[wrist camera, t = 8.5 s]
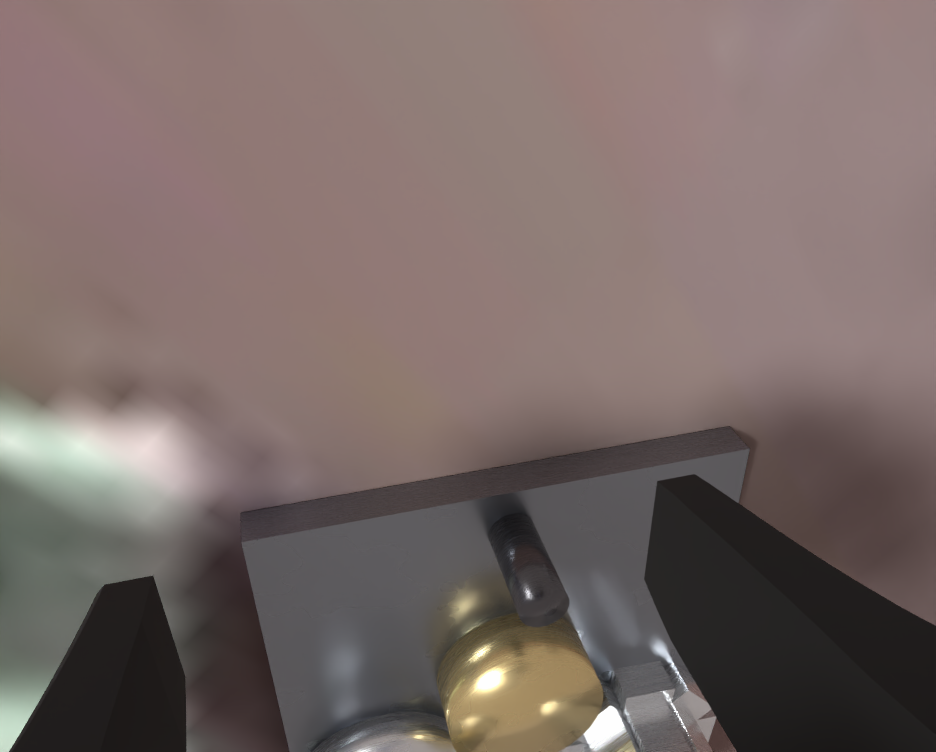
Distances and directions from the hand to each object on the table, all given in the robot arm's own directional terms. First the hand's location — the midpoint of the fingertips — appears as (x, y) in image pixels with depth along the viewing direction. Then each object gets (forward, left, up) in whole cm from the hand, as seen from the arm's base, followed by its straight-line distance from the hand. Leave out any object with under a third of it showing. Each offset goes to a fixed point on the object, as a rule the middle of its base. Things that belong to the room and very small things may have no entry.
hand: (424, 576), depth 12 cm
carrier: (+4, -14, -10) cm, 18 cm away
